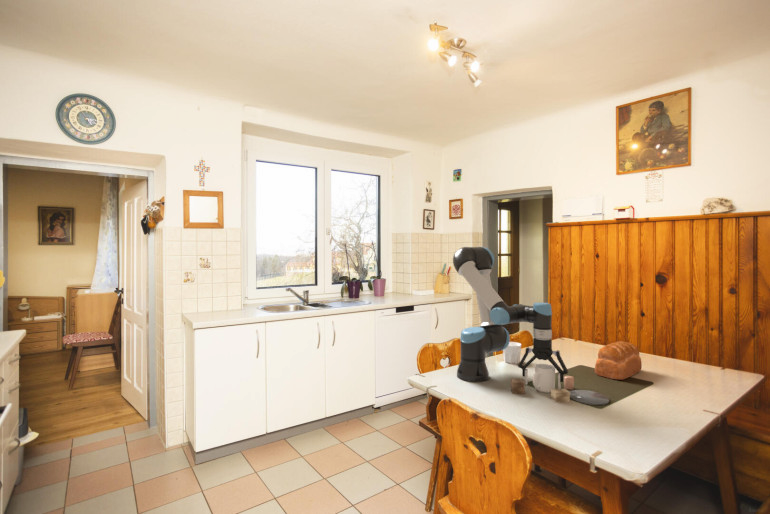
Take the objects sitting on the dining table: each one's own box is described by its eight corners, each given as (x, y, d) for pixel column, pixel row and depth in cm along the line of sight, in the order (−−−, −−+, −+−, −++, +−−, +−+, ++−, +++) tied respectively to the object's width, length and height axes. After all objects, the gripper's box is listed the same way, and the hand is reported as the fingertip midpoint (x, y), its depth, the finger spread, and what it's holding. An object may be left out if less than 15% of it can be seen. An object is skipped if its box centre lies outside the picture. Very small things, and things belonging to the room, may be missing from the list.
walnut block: (512, 393, 167) (512, 382, 167) (510, 389, 172) (510, 378, 172) (524, 394, 166) (524, 382, 166) (522, 390, 171) (522, 379, 171)
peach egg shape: (563, 388, 173) (563, 377, 173) (564, 386, 176) (564, 375, 176) (573, 390, 171) (573, 379, 171) (574, 387, 174) (574, 376, 174)
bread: (592, 374, 193) (592, 343, 192) (614, 365, 209) (615, 336, 209) (622, 382, 182) (623, 349, 181) (644, 371, 198) (644, 341, 198)
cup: (523, 364, 210) (523, 346, 210) (505, 364, 210) (505, 346, 210) (517, 359, 220) (517, 341, 220) (499, 359, 220) (500, 341, 220)
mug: (540, 396, 164) (541, 371, 164) (525, 389, 171) (525, 366, 171) (559, 391, 170) (559, 367, 170) (543, 385, 177) (543, 362, 177)
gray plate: (566, 400, 159) (566, 398, 159) (569, 389, 172) (569, 387, 172) (609, 408, 152) (609, 406, 152) (608, 395, 165) (608, 393, 165)
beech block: (555, 402, 158) (555, 392, 158) (550, 398, 162) (550, 389, 162) (569, 402, 158) (569, 392, 158) (564, 398, 162) (564, 388, 162)
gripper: (511, 336, 173) (511, 384, 173) (573, 343, 161) (573, 394, 161) (514, 333, 180) (514, 379, 180) (574, 339, 168) (574, 388, 168)
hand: (542, 386), depth 171 cm, fingers open, 13 cm apart
